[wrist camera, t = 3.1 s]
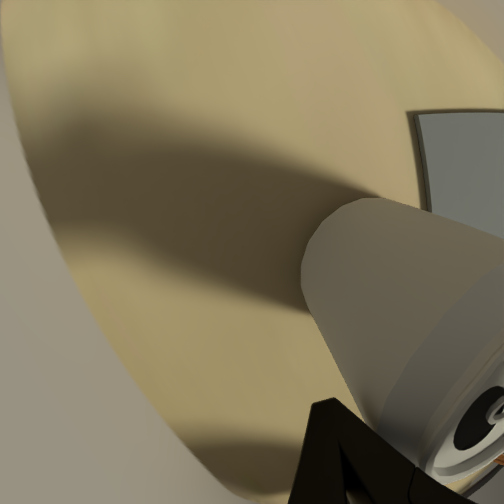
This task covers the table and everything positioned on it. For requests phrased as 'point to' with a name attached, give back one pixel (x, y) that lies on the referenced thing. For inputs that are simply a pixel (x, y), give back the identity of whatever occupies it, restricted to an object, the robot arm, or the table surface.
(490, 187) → the mat
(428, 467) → the can
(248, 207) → the table surface
